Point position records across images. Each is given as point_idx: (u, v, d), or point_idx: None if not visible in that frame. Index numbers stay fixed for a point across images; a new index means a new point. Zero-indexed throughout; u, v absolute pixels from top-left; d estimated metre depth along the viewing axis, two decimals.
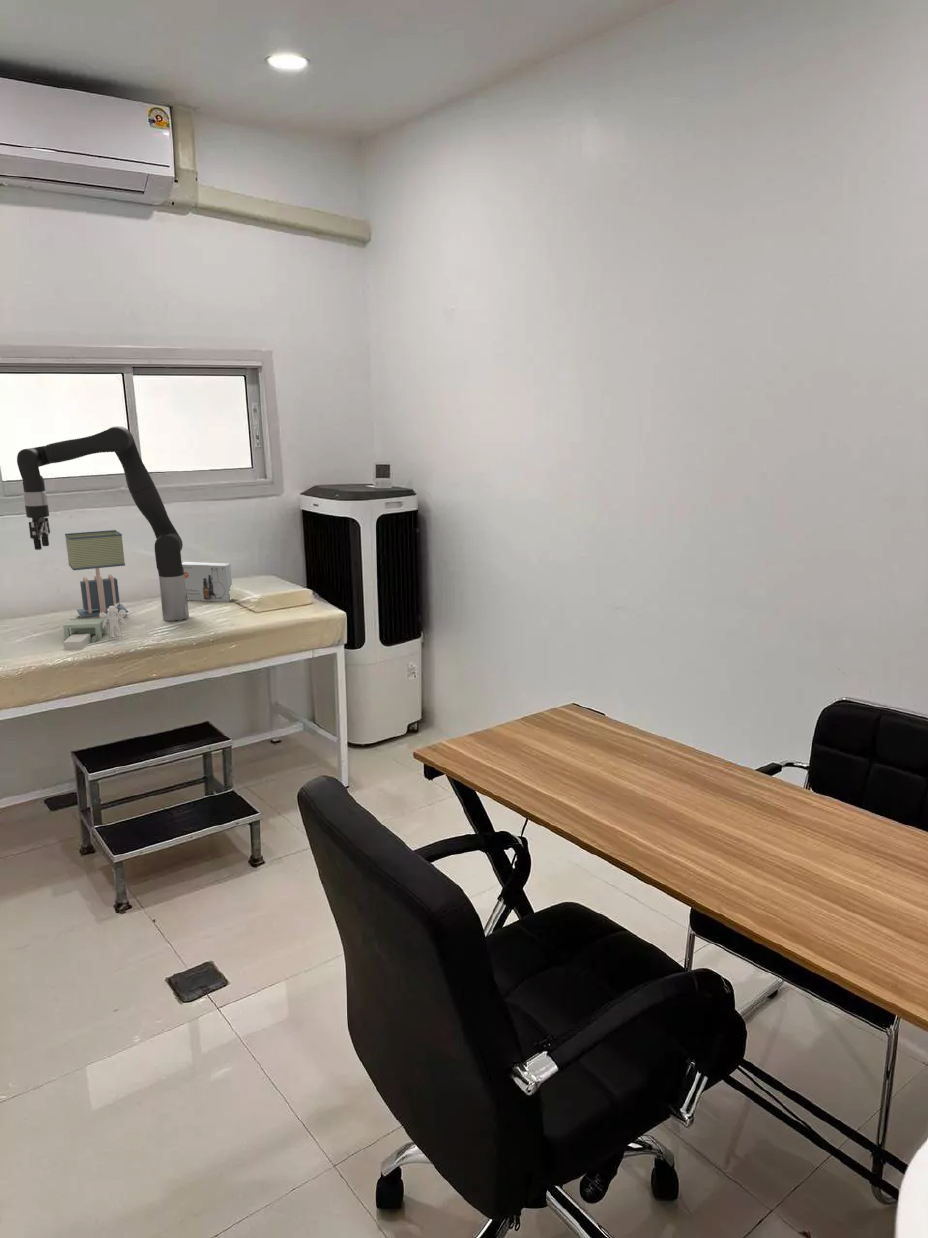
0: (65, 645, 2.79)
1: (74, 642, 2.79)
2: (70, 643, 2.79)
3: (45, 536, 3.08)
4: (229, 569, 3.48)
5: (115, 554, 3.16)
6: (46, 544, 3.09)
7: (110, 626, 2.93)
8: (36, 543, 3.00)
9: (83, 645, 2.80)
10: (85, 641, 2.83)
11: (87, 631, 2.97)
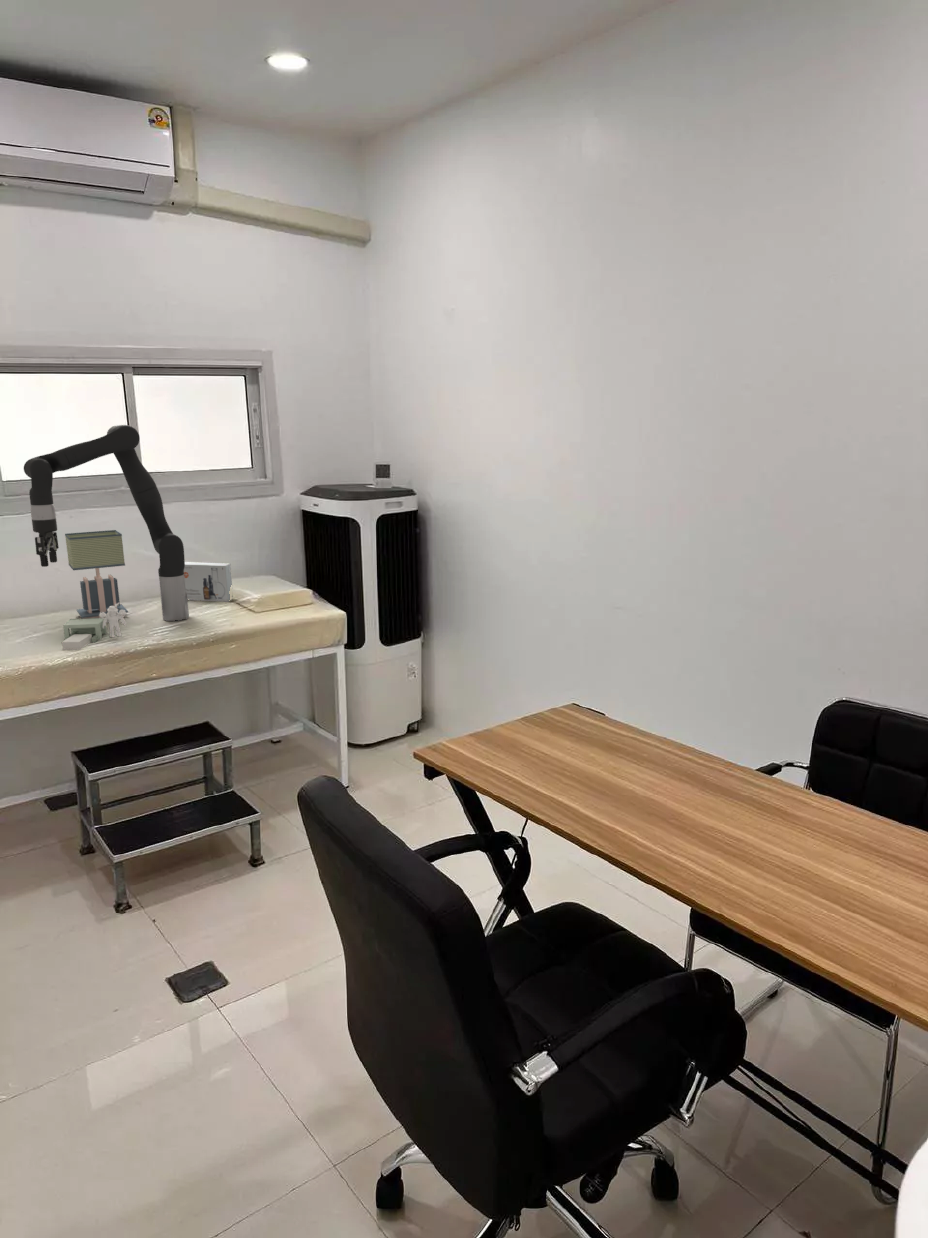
0: (64, 645, 2.79)
1: (72, 642, 2.79)
2: (68, 643, 2.79)
3: (53, 552, 2.89)
4: (229, 569, 3.48)
5: (115, 554, 3.16)
6: (54, 560, 2.90)
7: (110, 626, 2.93)
8: (42, 560, 2.80)
9: (81, 646, 2.80)
10: (84, 642, 2.83)
11: (87, 631, 2.97)
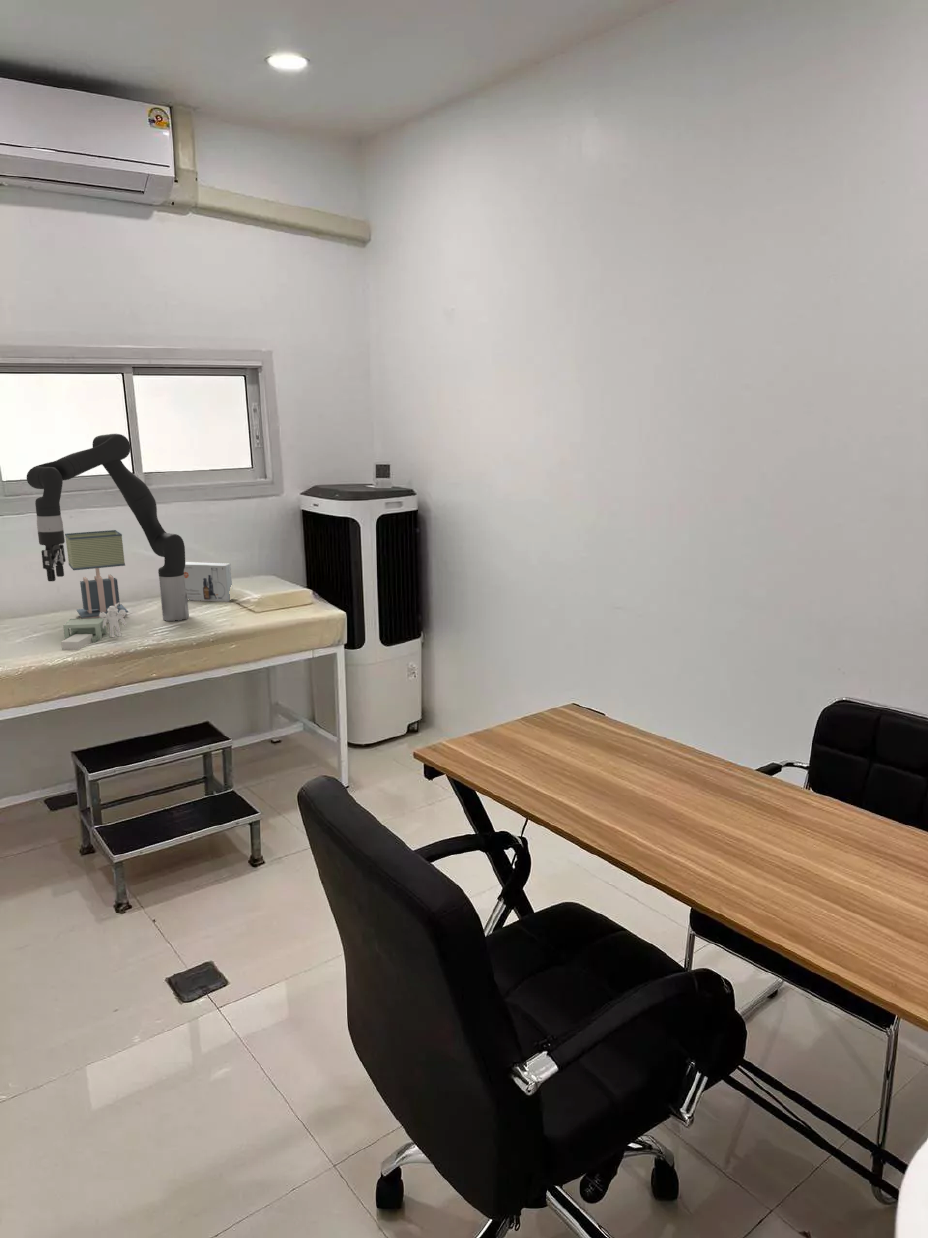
0: (63, 645, 2.79)
1: (71, 642, 2.79)
2: (67, 643, 2.79)
3: (60, 565, 2.73)
4: (229, 569, 3.48)
5: (115, 554, 3.16)
6: (61, 574, 2.74)
7: (110, 626, 2.93)
8: (49, 574, 2.64)
9: (79, 646, 2.80)
10: (84, 642, 2.83)
11: (87, 631, 2.97)
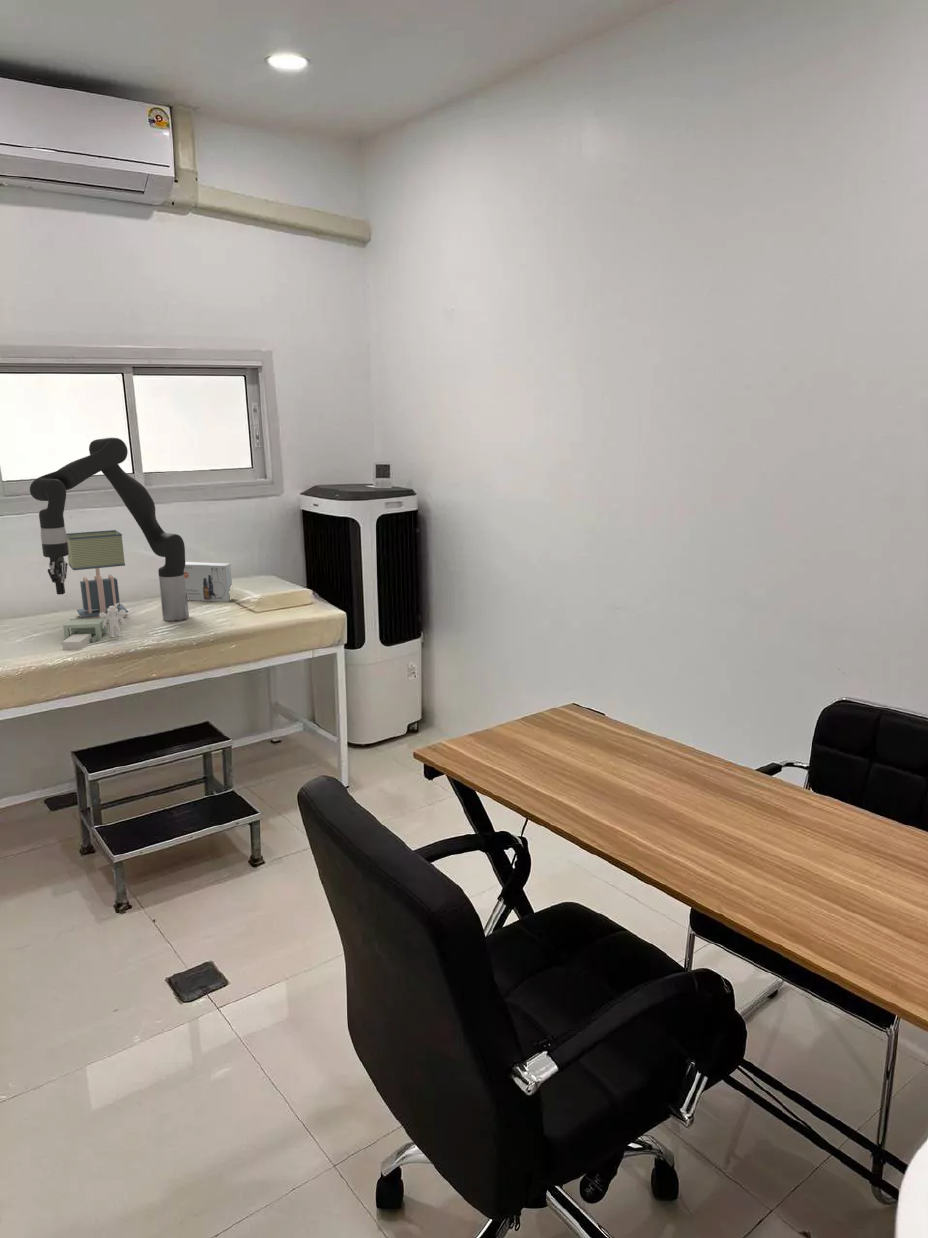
0: (64, 645, 2.79)
1: (72, 642, 2.79)
2: (68, 643, 2.79)
3: None
4: (229, 569, 3.48)
5: (115, 554, 3.16)
6: None
7: (110, 626, 2.93)
8: (58, 587, 2.67)
9: (81, 646, 2.80)
10: (84, 642, 2.83)
11: (87, 631, 2.97)
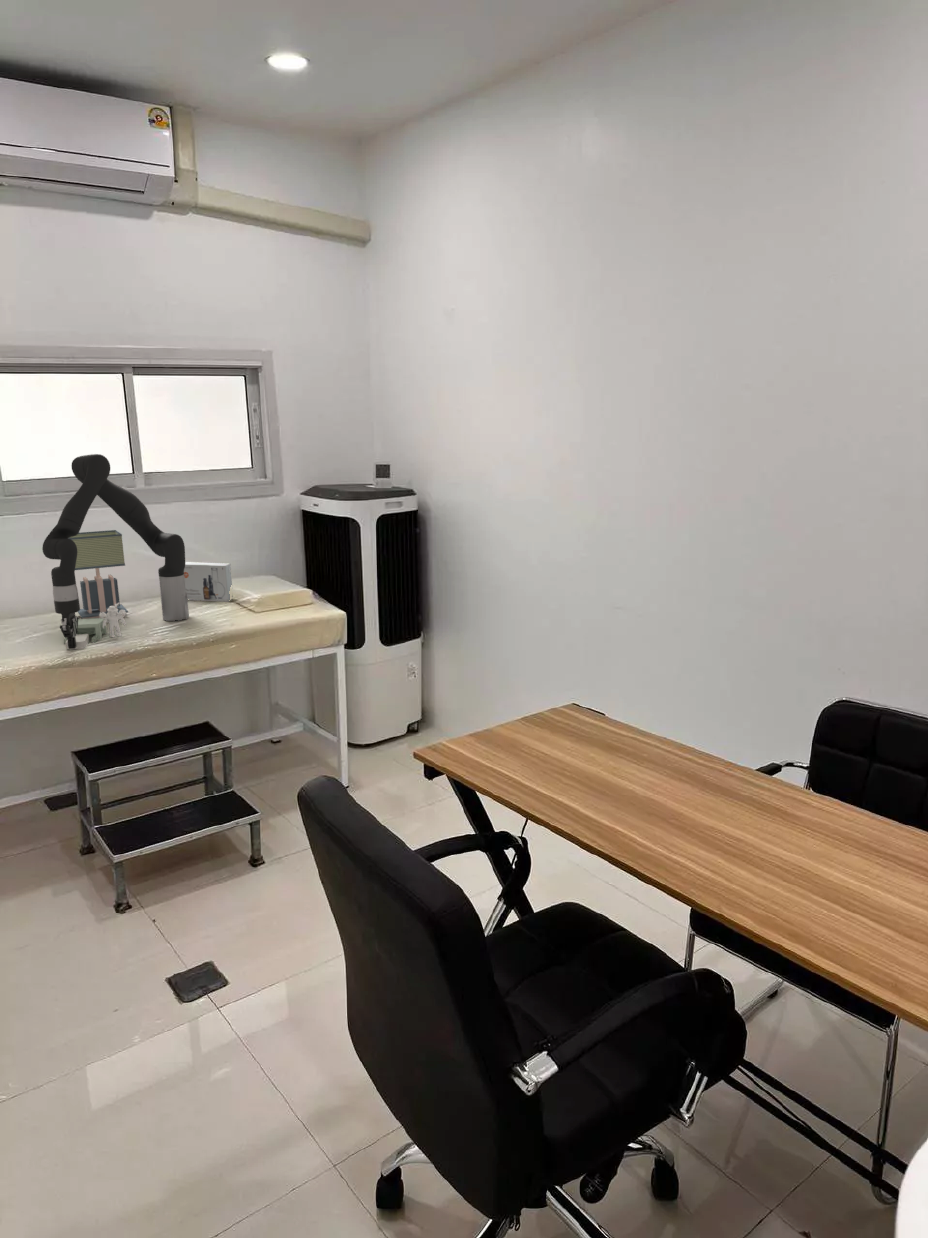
0: (67, 645, 2.79)
1: (77, 642, 2.79)
2: None
3: None
4: (229, 569, 3.48)
5: (115, 554, 3.16)
6: None
7: (110, 626, 2.93)
8: (70, 642, 2.76)
9: (85, 645, 2.81)
10: (86, 641, 2.84)
11: (87, 631, 2.97)
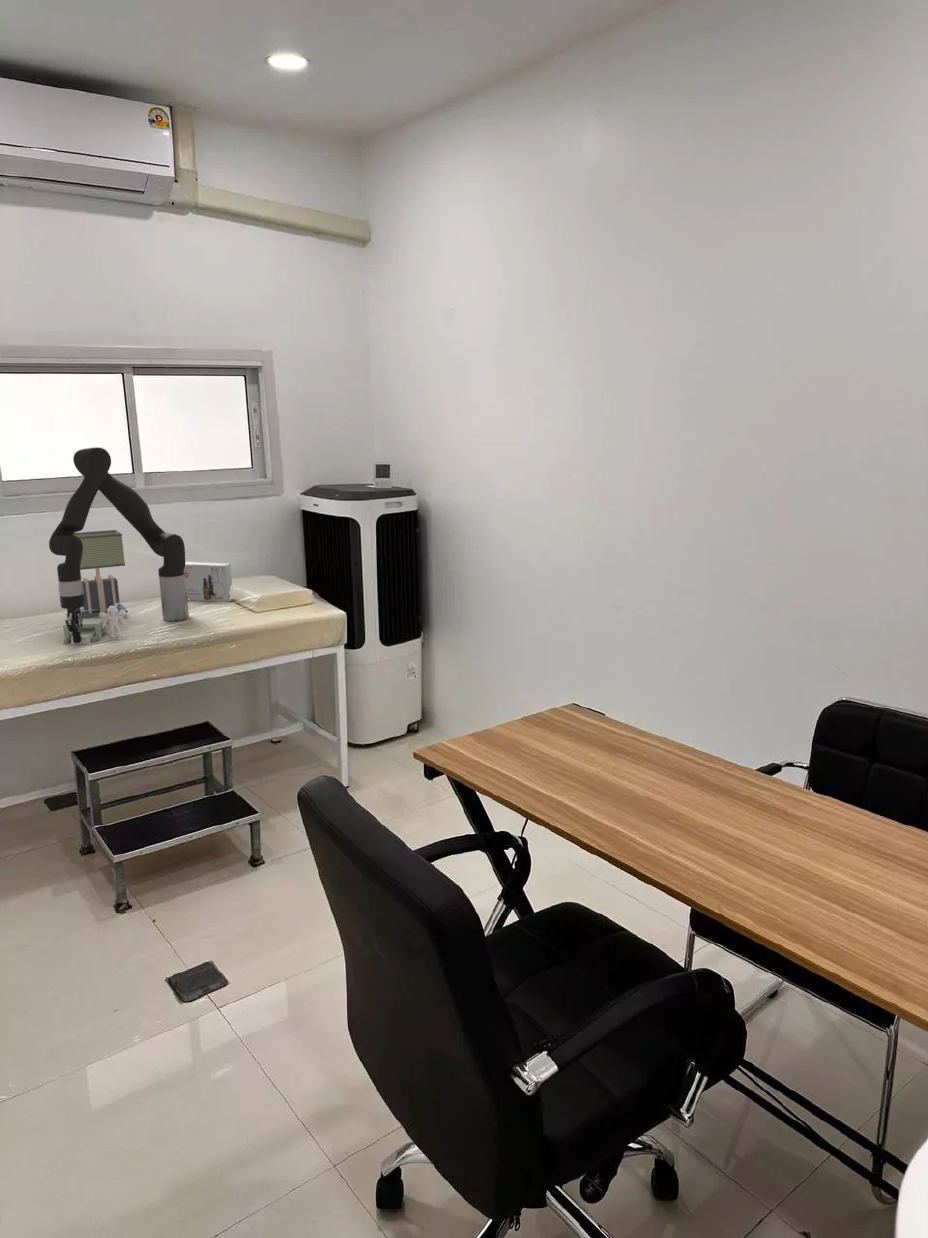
0: None
1: (81, 637, 2.85)
2: None
3: (77, 632, 2.83)
4: (229, 569, 3.48)
5: (115, 554, 3.16)
6: None
7: (110, 626, 2.93)
8: (75, 636, 2.82)
9: (90, 640, 2.87)
10: None
11: None
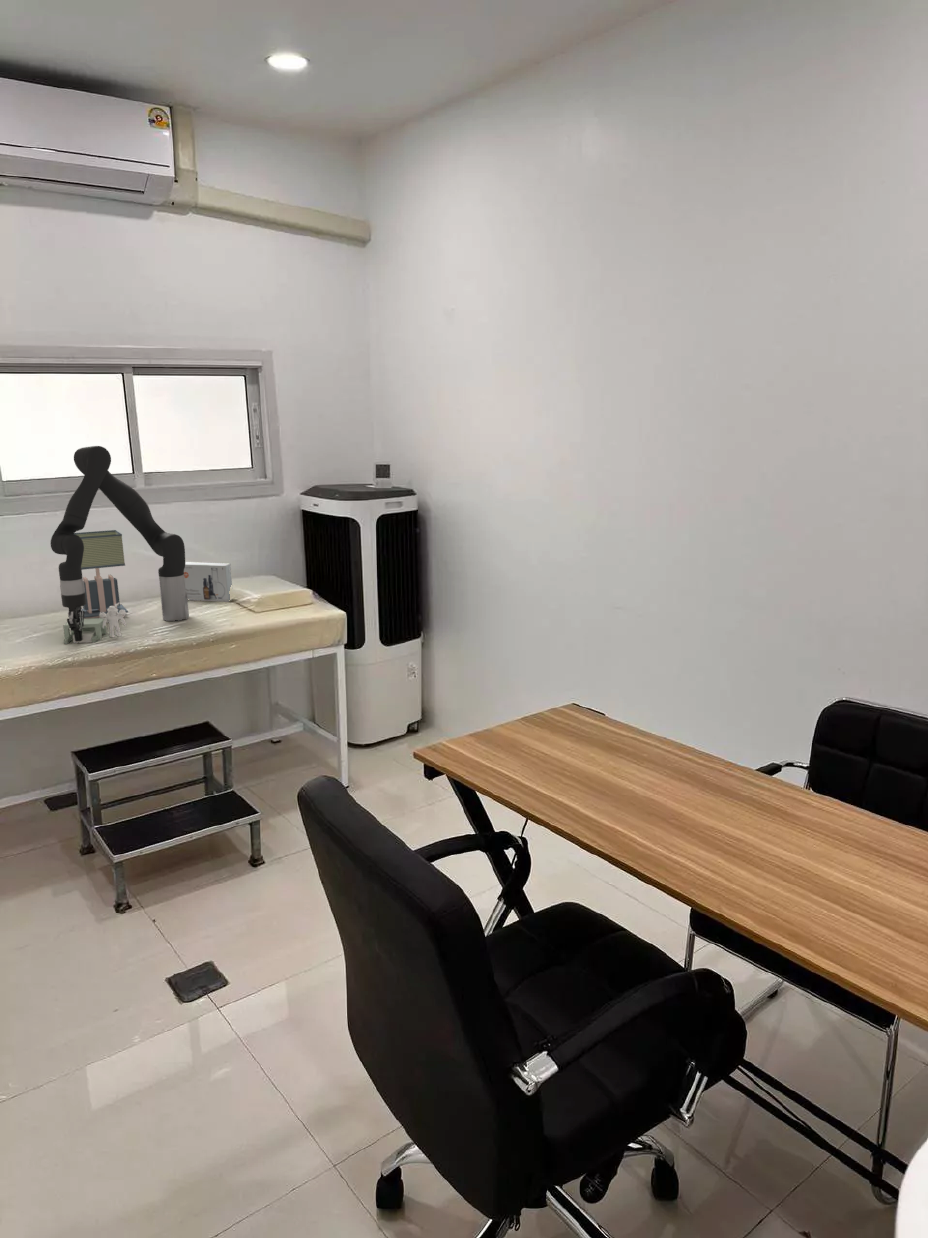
0: (74, 638, 2.87)
1: (83, 635, 2.87)
2: None
3: None
4: (229, 569, 3.48)
5: (115, 554, 3.16)
6: None
7: (110, 626, 2.93)
8: (76, 635, 2.84)
9: (91, 639, 2.89)
10: (94, 635, 2.92)
11: None
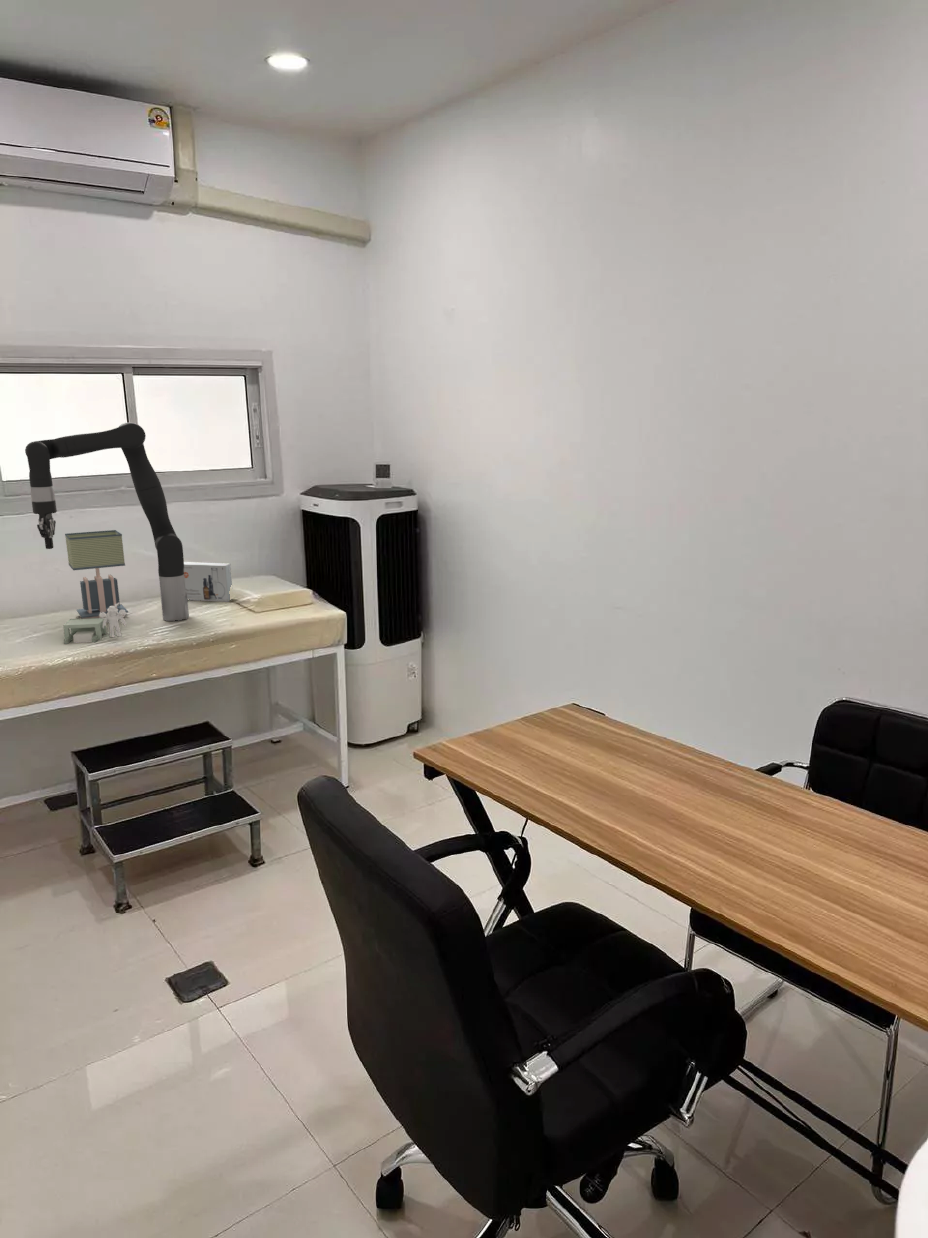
0: (75, 638, 2.87)
1: (84, 635, 2.87)
2: (80, 636, 2.87)
3: None
4: (229, 569, 3.48)
5: (115, 554, 3.16)
6: None
7: (110, 626, 2.93)
8: (47, 542, 2.91)
9: None
10: (94, 635, 2.92)
11: None
